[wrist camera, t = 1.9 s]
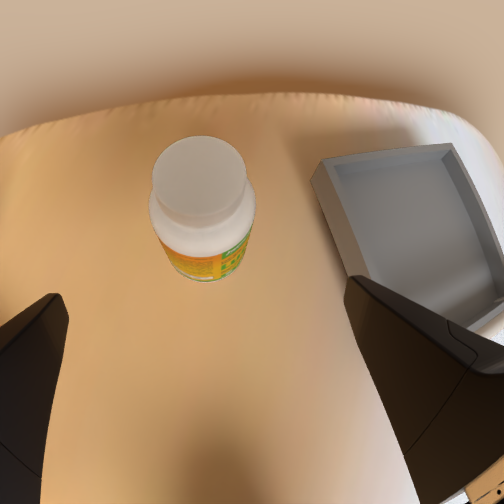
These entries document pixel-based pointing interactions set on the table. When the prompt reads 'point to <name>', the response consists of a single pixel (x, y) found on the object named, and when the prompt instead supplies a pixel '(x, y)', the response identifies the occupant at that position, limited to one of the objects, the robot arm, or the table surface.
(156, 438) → the table surface
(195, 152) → the supplement bottle
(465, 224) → the grey toy cart
